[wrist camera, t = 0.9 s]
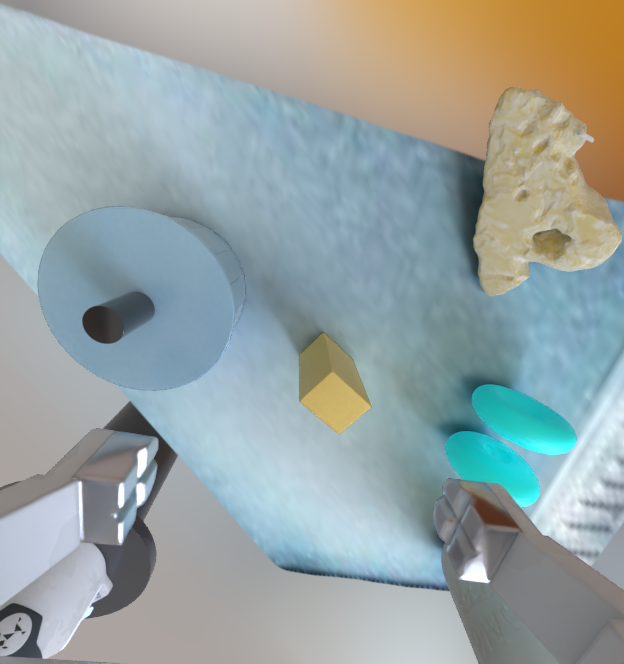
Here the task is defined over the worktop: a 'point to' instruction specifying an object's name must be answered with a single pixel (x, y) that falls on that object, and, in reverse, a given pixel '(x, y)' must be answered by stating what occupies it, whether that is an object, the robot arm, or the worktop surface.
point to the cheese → (537, 195)
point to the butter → (331, 384)
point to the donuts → (516, 426)
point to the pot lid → (136, 298)
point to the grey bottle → (492, 623)
